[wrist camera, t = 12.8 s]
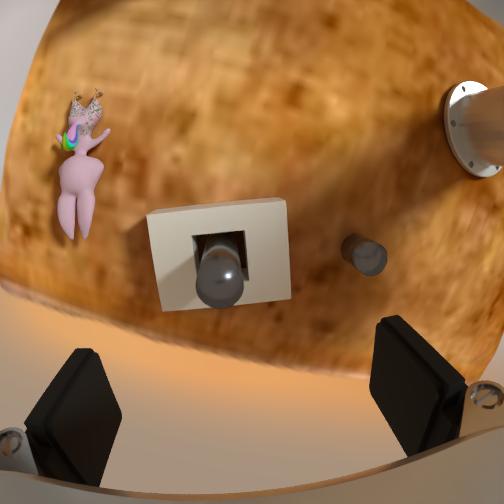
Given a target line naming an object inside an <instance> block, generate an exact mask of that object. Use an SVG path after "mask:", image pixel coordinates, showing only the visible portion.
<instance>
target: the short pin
mask: <svg viewBox="0 0 504 504" xmlns="http://www.w3.org/2000/svg"><path fill="white" fill-rule="evenodd" d="M341 252H342V256H343V257H344V259H345V260H346V261H348V262H349V263H350V264H351V265H353V266H354V267H355V268H357V269H358V270H359V271H360V272H362V273H363V274H365V275H367V276H375V275H377V274H379V273H380V272H381V271H382V270H383V269H384V268H385V266H386V263H387V252H386V250H385V248H384V247H383V246H382V245H380V244H378V243H376V242H374V241H372V240H370V239H368V238H366V237H364V236H362V235H360V234H352V235H350V236H348V237H347V238H346V239H345V240H344V242H343V244H342V248H341Z"/></svg>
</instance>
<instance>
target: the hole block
mask: <svg viewBox="0 0 504 504" xmlns="http://www.w3.org/2000/svg"><path fill="white" fill-rule="evenodd" d="M146 216H147V223H148V230H149V237H150V244H151V251H152V257H153V263H154V269H155V275H156V280H157V286H158V291H159V296H160V302H161V307H162V312H164V311H177V310H189V309H201V308H212V307H210V306H207V305H206V304H204V303H203V302H202V301H201V300H200V298H199V297H198V295H197V292H196V287H195V284H196V279H197V275H198V271H199V267H200V260H199V253H198V245H197V236H196V235H202V234H211V233H221V232H231V231H241V230H243V236H244V247H245V258H246V268H241V270H242V276H243V282H244V290H243V294H242V296H241V298H240V299H239V300H238V301H237V302H236V303H235V304H234V305H242V304H252V303H261V302H269V301H278V300H286V299H291V281H290V260H289V241H288V224H287V209H286V201H285V200H283V199H281V198H279V197H273V198H261V199H250V200H239V201H229V202H219V203H209V204H200V205H191V206H182V207H173V208H165V209H157V210H155V211H153V212H151V213H149V214H148V215H146Z"/></svg>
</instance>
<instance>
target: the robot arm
mask: <svg viewBox="0 0 504 504" xmlns="http://www.w3.org/2000/svg"><path fill="white" fill-rule="evenodd" d="M444 126H445V131H446V136H447V139H448V143H449V146H450V148H451V150H452V152H453V154H454V156H455V158H456V159H457V161H458V162H459V163H460V165H461V166H462V167H463V168H464V169H465V170H466V171H468V172H469V173H470V174H472V175H474V176H479V177H490V176H493V175H495V174H496V173H498V172H499V171H500V169H501V168H502V167H504V86H502V87H496V88H491V89H487V88H486V87H484V86H483V85H481V84H479V83H477V82H473V81H465V82H462V83H459V84H457V85H455V86H454V87H453V88H452V89H451V90H450V92H449V94H448V96H447V98H446V102H445V106H444ZM464 382H465V378H464V377H463V376H462V375H461V374H460V373H459V372H458V371H457V370H456V369H455V368H454V367H453V366H452V365H451V364H449V363H448V362H447V361H446V360H445V359H444V358H443V357H442V356H441V355H440V354H439V353H438V352H437V351H436V350H435V349H434V348H433V347H432V346H431V345H430V344H429V343H428V342H427V341H426V340H425V339H424V338H423V337H422V336H420V335H419V334H418V333H417V332H416V331H415V330H414V329H413V328H412V327H411V326H410V325H409V324H408V323H407V322H406V321H405V320H403V319H402V318H401V317H400V316H399V315H394V316H389V317H384V318H382V319H381V321H380V323H378V324H377V325H376V332H375V343H374V352H373V361H372V369H371V377H370V384H369V389H370V393H371V395H372V397H373V399H374V400H375V402H376V404H377V405H378V407H379V409H380V411H381V412H382V414H383V415H384V417H385V419H386V421H387V422H388V424H389V426H390V427H391V429H392V431H393V433H394V434H395V436H396V438H397V439H398V441H399V443H400V445H401V446H402V448H403V450H404V452H405V453H406V455H407V458H404V459H401V460H398V461H395V462H392V463H389V464H386V465H383V466H379V467H377V468H373V469H370V470H366V471H363V472H359V473H355V474H351V475H347V476H343V477H339V478H334V479H330V480H326V481H321V482H316V483H310V484H305V485H299V486H293V487H286V488H279V489H272V490H263V491H254V492H242V493H227V494H192V495H191V494H158V493H142V492H132V491H122V490H114V489H107V488H100V487H99V486H100V483H101V479H102V476H103V473H104V470H105V467H106V464H107V461H108V458H109V455H110V452H111V449H112V446H113V443H114V440H115V437H116V434H117V431H118V428H119V426H120V423H121V420H122V413H121V410H120V408H119V405H118V403H117V401H116V398H115V396H114V394H113V391H112V388H111V386H110V383H109V381H108V378H107V376H106V373H105V370H104V368H103V365H102V362H101V360H100V357H99V355H98V353H96V352H94V351H93V350H92V349H91V348H77V349H75V350H74V352H73V353H72V354H71V356H70V357H69V358H68V360H67V361H66V362H65V364H64V365H63V367H62V368H61V369H60V371H59V372H58V373H57V375H56V376H55V378H54V379H53V380H52V382H51V383H50V385H49V386H48V388H47V389H46V390H45V392H44V393H43V395H42V396H41V398H40V399H39V401H38V402H37V404H36V405H35V407H34V408H33V410H32V411H31V413H30V414H29V416H28V417H27V419H26V420H25V422H24V424H25V425H26V427H27V430H26V431H25V432H24V431H23V430H22V429H19V428H16V427H10V428H6V429H4V430H1V431H0V504H504V387H502V386H501V385H500V384H498V383H495V382H492V381H478V382H475V383H473V384H471V385H470V386H469V387H468V386H467V385H466V384H465V383H464Z"/></svg>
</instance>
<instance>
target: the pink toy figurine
mask: <svg viewBox="0 0 504 504" xmlns="http://www.w3.org/2000/svg"><path fill="white" fill-rule="evenodd" d="M95 89H96V87H95ZM74 92H75V90H74ZM101 93H104V92H103V91H101V90H99V89H96V93H95V95H94V96H93V100H92V101H91V103H90V104H89V106H88V107H87V108H86V109H85V107H83V106H82V105H81V104H79V103H78V102H77V101H76V98H77V97H79V98H81V96H84V95H82V94H80V93H78V92H75V96H74V98H73V99H72V107H71V111H70V114H69V117H68V124H69V127H70V129H69V130H68V132H67V135H66V132H65V133H64V135H63V137H62V136H61V135H60V134H58V135H57V136H56V139H57V140H58V141H59V142H60V143H61V147H62V149H63V150H65V151H71V150H72V151H74V152H75V155H74V156H72V157H70V158H68V159H67V160H66V161H65V162H64V163H63V164H62V165H61V166H60V168H59V176H60V186H61V195H60V197H59V199H58V204H57V212H58V219H59V222H60V225H61V227H62V229H63V230H64V232H65V233H66V234H67V236H68V237H69V238H70V239H74V227H75V203H76V198H77V216H78V224H79V227H80V230H81V234H82V237H83V239H86V238H87V236H88V233H89V230H90V226H91V221H92V216H93V211H94V206H95V196H94V188H95V186H96V184H97V182H98V180H99V178H100V176H101V174H102V172H103V170H104V165H103V163H102V162H101V161H100V160H98V159H96V158H92V157H88V156H87V155H86V154H87V151H88V150H89V149H91V148H93V147H95V146H96V145H97V144H99V143H100V142H101V141H103V140H104V139H105V137H106V136H107V135H108V134H109V133H110V129H106V130H105V131H104V132H103V134H102V135H101V136H100V137H98V138H96V139H92V137H91V132H92V130H93V129H94V127H95V126H96V124H97V123H98V121H99V120H100V118H101V115H102V107H101V105H100V103H99V101H98V100H97V94H99V95H102V94H101Z"/></svg>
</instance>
